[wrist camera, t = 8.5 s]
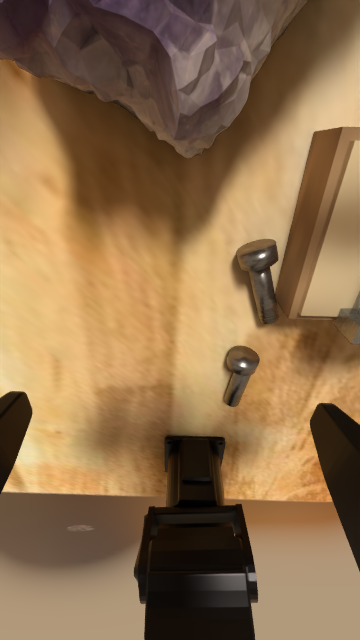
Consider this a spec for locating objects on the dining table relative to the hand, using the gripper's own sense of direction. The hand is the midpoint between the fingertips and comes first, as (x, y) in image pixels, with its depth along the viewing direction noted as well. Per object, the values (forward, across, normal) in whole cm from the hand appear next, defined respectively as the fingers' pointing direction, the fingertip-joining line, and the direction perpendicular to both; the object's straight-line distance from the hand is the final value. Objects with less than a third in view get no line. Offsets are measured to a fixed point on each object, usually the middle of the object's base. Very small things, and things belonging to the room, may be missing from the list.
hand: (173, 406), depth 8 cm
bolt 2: (+11, -6, +10) cm, 16 cm away
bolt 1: (+12, -6, +1) cm, 13 cm away
